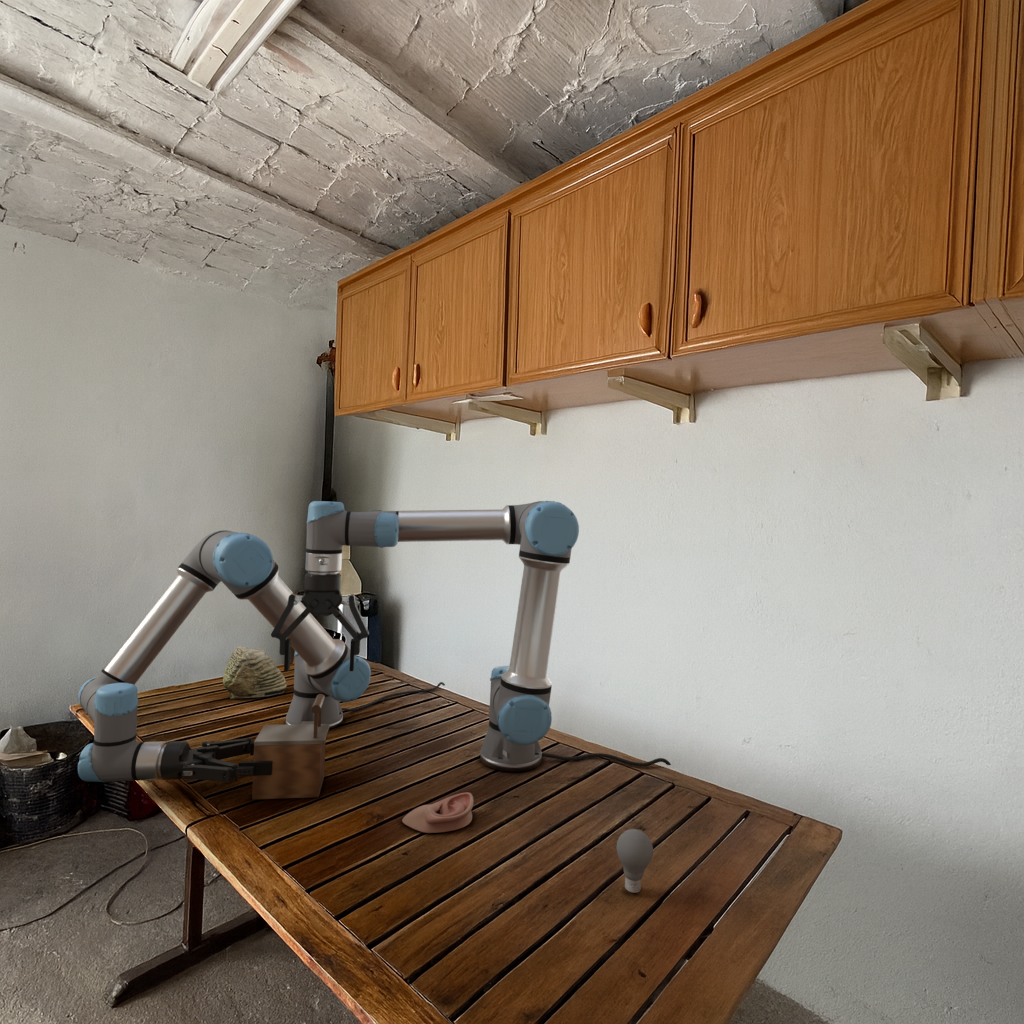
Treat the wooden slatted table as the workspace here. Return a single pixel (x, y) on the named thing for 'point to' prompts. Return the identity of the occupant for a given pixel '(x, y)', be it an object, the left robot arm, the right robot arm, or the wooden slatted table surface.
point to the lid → (296, 730)
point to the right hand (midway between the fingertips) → (319, 669)
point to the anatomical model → (442, 814)
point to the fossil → (252, 674)
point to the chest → (290, 771)
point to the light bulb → (634, 857)
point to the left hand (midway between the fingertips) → (276, 757)
